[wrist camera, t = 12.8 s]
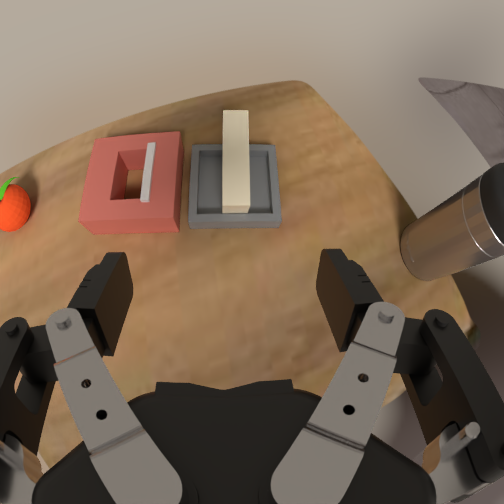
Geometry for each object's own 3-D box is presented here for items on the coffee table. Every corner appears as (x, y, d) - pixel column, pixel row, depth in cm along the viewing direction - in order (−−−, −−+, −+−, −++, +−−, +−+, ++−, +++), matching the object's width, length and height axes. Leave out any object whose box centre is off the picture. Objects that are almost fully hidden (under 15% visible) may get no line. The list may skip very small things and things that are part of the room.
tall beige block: (246, 215, 38) (244, 130, 39) (250, 205, 32) (248, 110, 33) (222, 215, 38) (222, 130, 39) (222, 205, 32) (223, 110, 33)
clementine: (20, 186, 37) (-3, 166, 30) (47, 193, 37) (24, 171, 30) (2, 232, 35) (-25, 217, 28) (28, 242, 35) (1, 226, 28)
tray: (272, 154, 42) (275, 145, 39) (278, 227, 39) (281, 221, 36) (193, 154, 41) (192, 144, 38) (190, 228, 38) (188, 222, 35)
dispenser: (183, 152, 40) (179, 128, 35) (179, 231, 37) (172, 215, 32) (106, 157, 39) (93, 136, 34) (93, 234, 36) (76, 219, 31)
